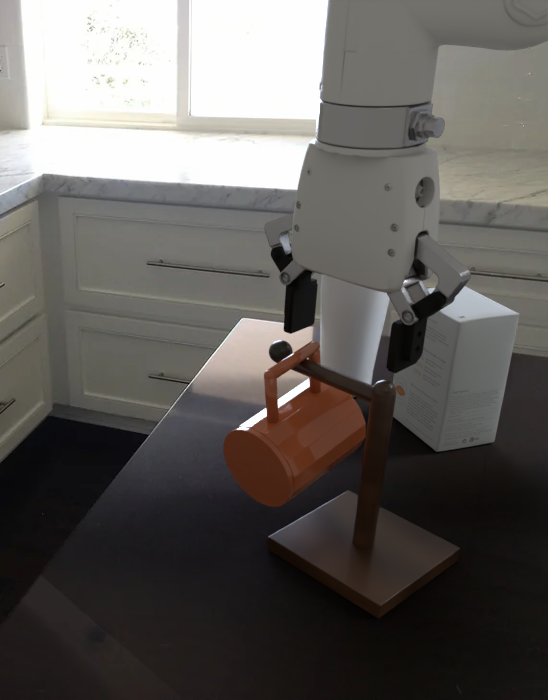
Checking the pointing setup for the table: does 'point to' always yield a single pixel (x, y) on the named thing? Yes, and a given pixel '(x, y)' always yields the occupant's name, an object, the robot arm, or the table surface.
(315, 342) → the mug
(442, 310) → the small box
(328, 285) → the drinking glass
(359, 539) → the mug stand
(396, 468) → the table surface
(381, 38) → the robot arm
